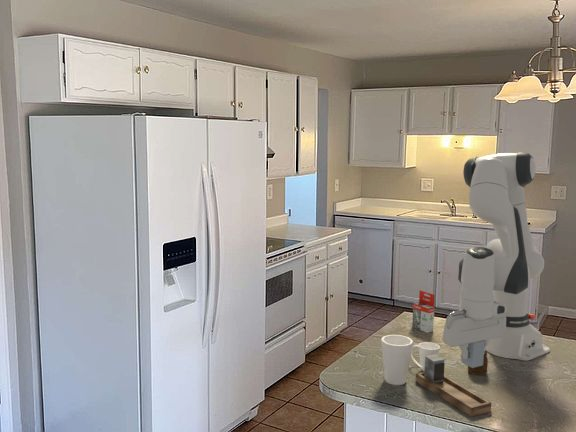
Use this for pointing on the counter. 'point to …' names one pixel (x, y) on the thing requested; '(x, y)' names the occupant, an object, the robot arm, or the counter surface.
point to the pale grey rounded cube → (475, 354)
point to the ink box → (424, 312)
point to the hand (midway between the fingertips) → (472, 356)
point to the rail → (450, 388)
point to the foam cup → (396, 358)
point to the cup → (425, 352)
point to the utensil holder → (480, 367)
